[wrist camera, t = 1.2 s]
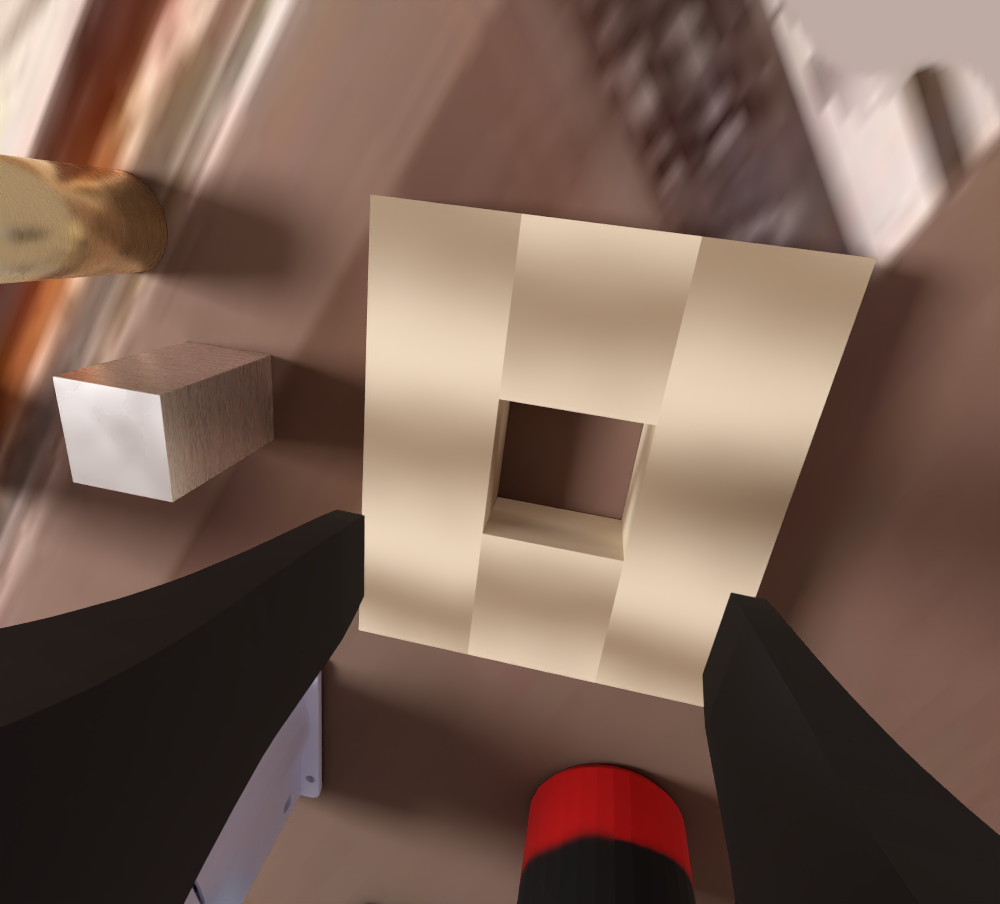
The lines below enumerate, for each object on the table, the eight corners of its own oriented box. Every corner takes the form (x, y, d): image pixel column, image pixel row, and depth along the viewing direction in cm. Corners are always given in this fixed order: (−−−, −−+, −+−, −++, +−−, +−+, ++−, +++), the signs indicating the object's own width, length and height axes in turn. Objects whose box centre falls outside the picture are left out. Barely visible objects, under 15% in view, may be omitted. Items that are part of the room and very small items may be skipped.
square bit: (274, 439, 23) (172, 502, 18) (195, 424, 24) (73, 482, 18) (270, 355, 22) (159, 395, 17) (187, 341, 22) (52, 376, 17)
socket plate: (702, 653, 23) (715, 709, 21) (385, 586, 25) (358, 630, 22) (833, 254, 17) (877, 258, 15) (404, 200, 19) (370, 194, 16)
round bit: (172, 278, 22) (23, 293, 16) (89, 265, 22) (-84, 276, 16) (161, 175, 20) (-6, 153, 15) (73, 164, 21) (-121, 138, 15)
